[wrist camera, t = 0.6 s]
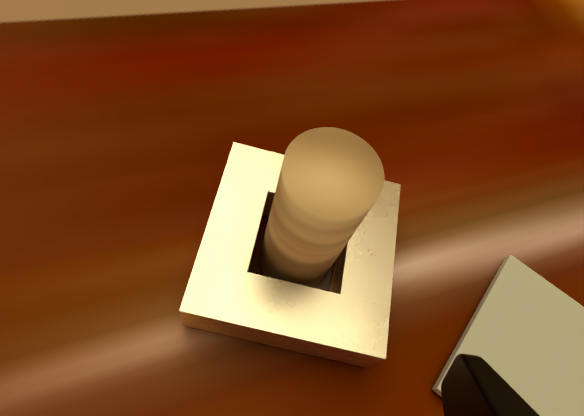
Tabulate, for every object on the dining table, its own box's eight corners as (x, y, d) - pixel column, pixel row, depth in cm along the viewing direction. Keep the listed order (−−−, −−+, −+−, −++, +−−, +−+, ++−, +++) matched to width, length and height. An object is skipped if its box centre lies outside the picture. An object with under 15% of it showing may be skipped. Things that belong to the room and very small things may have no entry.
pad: (600, 526, 22) (610, 528, 21) (431, 389, 24) (436, 388, 23) (649, 362, 26) (658, 360, 26) (504, 257, 28) (510, 254, 28)
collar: (366, 367, 24) (385, 358, 21) (183, 325, 23) (179, 310, 20) (383, 208, 28) (400, 184, 26) (231, 170, 28) (233, 142, 25)
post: (321, 301, 25) (379, 226, 16) (252, 285, 25) (273, 200, 16) (331, 238, 27) (388, 141, 18) (267, 222, 27) (293, 116, 18)
